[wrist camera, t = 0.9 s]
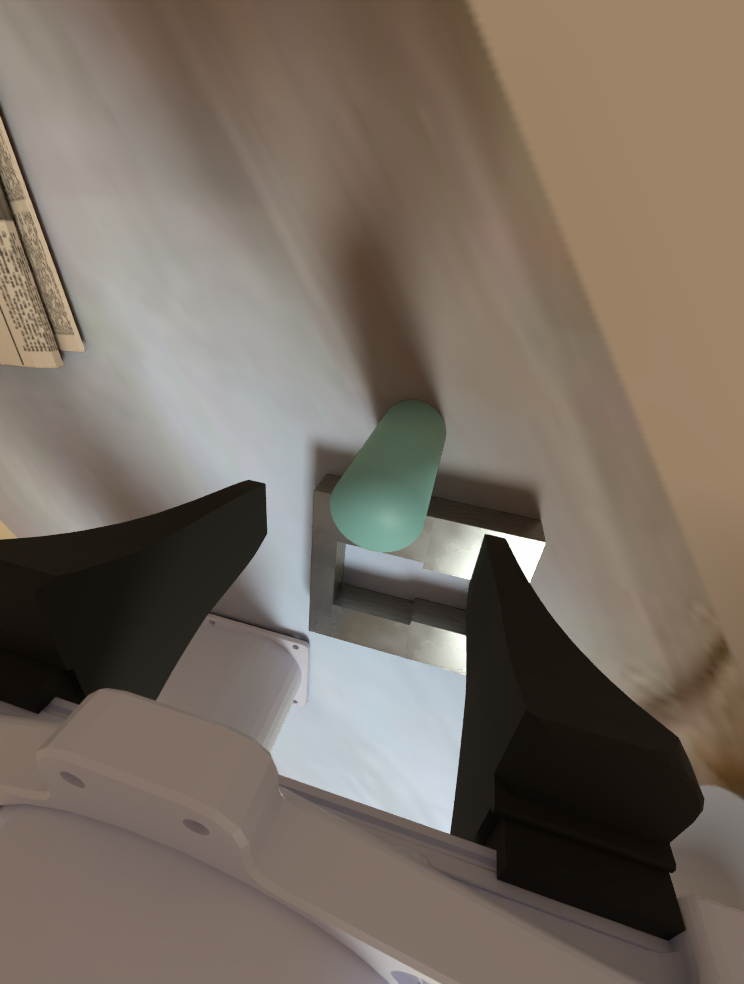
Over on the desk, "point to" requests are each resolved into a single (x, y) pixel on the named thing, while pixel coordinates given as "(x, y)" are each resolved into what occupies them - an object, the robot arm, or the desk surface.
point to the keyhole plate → (442, 548)
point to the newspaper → (28, 279)
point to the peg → (391, 479)
